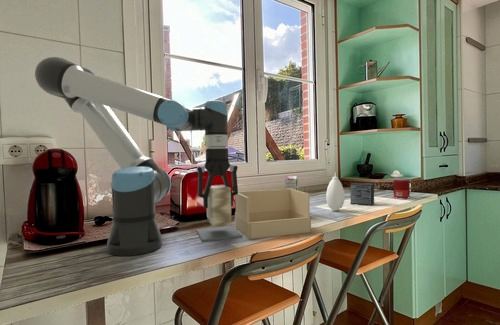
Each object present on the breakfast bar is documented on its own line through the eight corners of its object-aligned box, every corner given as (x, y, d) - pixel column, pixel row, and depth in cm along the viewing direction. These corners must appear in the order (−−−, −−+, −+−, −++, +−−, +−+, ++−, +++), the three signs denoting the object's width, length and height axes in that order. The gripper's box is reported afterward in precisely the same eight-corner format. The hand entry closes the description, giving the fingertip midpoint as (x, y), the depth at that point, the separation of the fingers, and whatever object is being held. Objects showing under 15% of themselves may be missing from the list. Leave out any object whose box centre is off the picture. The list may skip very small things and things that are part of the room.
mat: (202, 241, 93) (202, 239, 93) (196, 230, 105) (196, 229, 105) (242, 237, 97) (242, 235, 97) (232, 227, 109) (232, 225, 109)
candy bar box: (287, 212, 134) (287, 175, 134) (298, 212, 133) (298, 175, 133) (285, 217, 123) (285, 178, 123) (297, 218, 122) (297, 178, 122)
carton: (248, 239, 95) (248, 198, 94) (235, 227, 110) (234, 191, 109) (311, 232, 102) (311, 194, 101) (290, 221, 117) (290, 188, 116)
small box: (374, 204, 151) (374, 183, 151) (372, 206, 146) (372, 184, 146) (353, 202, 157) (353, 182, 157) (350, 204, 152) (350, 183, 151)
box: (213, 226, 95) (212, 189, 94) (207, 220, 104) (206, 185, 104) (231, 225, 97) (230, 188, 96) (224, 218, 106) (223, 184, 106)
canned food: (412, 199, 164) (412, 179, 164) (397, 199, 164) (397, 179, 164) (405, 196, 172) (405, 177, 171) (391, 196, 172) (391, 177, 172)
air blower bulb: (337, 208, 141) (337, 170, 140) (347, 211, 134) (347, 171, 133) (323, 209, 139) (323, 171, 138) (332, 213, 131) (332, 172, 130)
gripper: (189, 148, 93) (191, 221, 94) (247, 147, 99) (248, 216, 100) (186, 148, 100) (188, 216, 101) (241, 147, 106) (242, 212, 107)
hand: (218, 216), depth 101 cm, fingers closed on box, 6 cm apart
